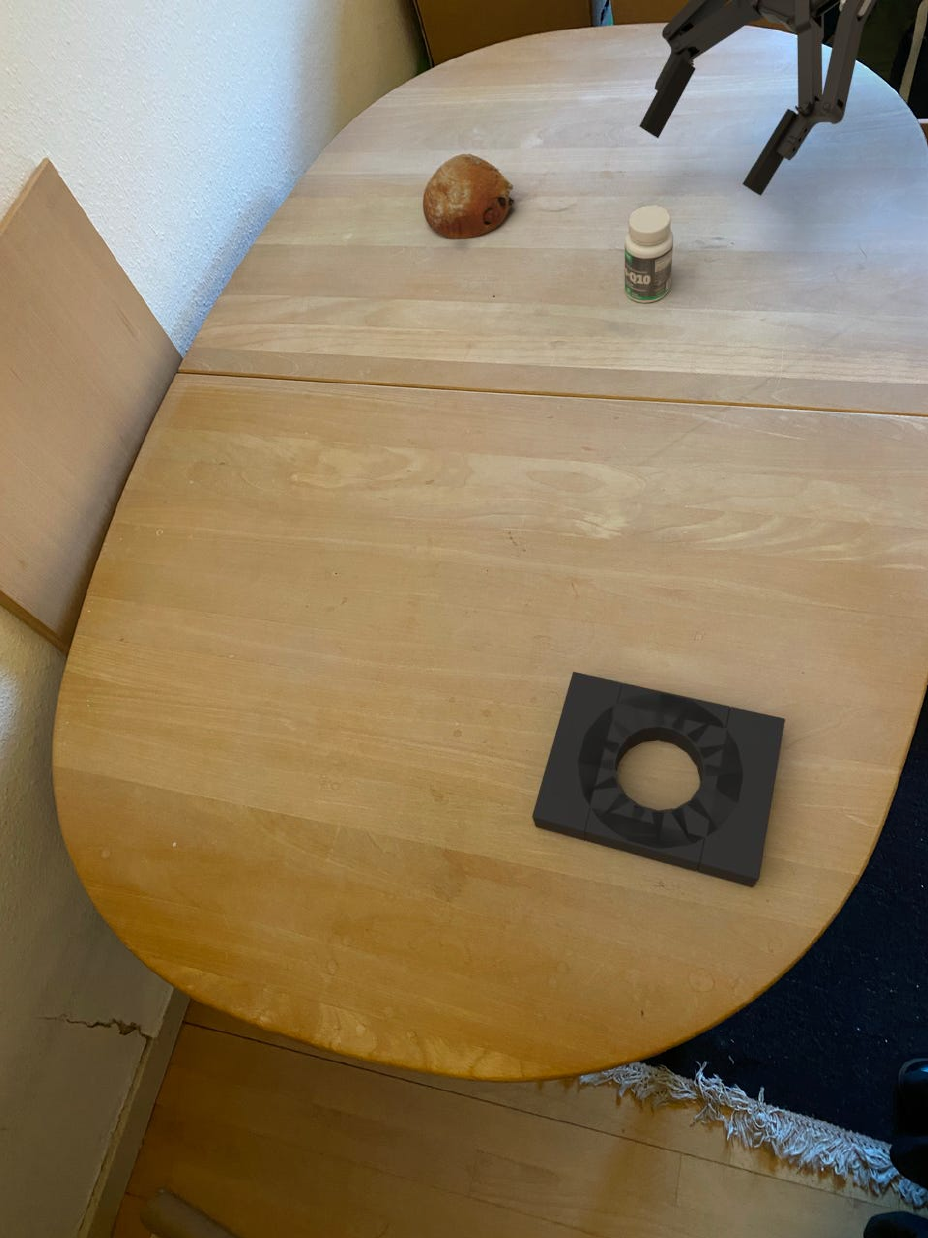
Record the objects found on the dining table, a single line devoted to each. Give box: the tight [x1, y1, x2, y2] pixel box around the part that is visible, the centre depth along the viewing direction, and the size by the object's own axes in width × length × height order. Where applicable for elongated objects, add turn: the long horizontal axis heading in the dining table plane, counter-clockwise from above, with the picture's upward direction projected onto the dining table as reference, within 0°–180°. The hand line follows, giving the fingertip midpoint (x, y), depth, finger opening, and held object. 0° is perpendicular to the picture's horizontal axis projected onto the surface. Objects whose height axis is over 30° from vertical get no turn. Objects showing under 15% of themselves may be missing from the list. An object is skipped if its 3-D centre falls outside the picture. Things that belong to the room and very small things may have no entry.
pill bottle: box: [624, 205, 674, 304], centre depth 84 cm, size 5×5×8 cm
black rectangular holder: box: [531, 671, 786, 888], centre depth 62 cm, size 16×12×3 cm
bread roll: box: [422, 153, 515, 240], centre depth 97 cm, size 10×10×8 cm
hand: (697, 160), depth 79 cm, fingers open, 13 cm apart
